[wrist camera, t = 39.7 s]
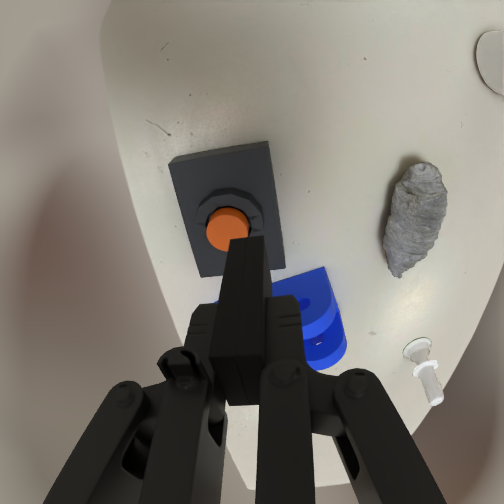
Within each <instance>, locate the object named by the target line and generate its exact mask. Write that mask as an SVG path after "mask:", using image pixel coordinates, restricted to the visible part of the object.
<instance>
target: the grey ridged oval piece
mask: <svg viewBox="0 0 504 504" xmlns="http://www.w3.org/2000/svg"><path fill="white" fill-rule="evenodd" d="M446 207H447V190H446V188H445V187H444V184H443V183H442V175H441V174H440V172H439V170H438V168H437V167H435V166H434V165H432V164H431V163H429V162H423V163H420V164H415V165H413V166H410V167H409V169H408V170H407V171H406V172H405V174H404V176H403V177H402V179H401V180H400V181H399V182H398V183H396V185H395V191H394V194H393V196H392V204H391V215H390V216H389V217H388V220H387V226H386V229H385V233H386V234H384V236H383V239H384V241H383V248H384V249H385V251H386V258H387V263H388V269H389V270H390V271H391V272H392V275H393V276H394V277H398V278H401V277H402V273H403V272H404V271H407V270H408V269H409V268H412V267H414V265H415V264H416V262H418V261H420V260H421V259H424V258H425V257H426V256H427V252H428V251H429V249H431V248H432V247H433V246H434V241H435V240H436V239H437V238H438V233H439V230H440V226H441V224H442V222H443V218H444V216H445V215H446Z"/></svg>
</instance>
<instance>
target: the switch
mask: <svg viewBox="0 0 504 504" xmlns="http://www.w3.org/2000/svg"><path fill="white" fill-rule="evenodd" d="M248 230H249V223H248V220H247V218H246V216H245V215H244V214H243V213H242V212H241V211H239V210H237V209H235V208H229V207H227V208H221V209H219V210H217V211H215V212H214V213H213V214H212V216H211V218H210V220H209V223H208V226H207V230H206V234H207V238H208V240H209V242H210V243H211V244H212V245H213V246H214V247H215V248H217V249H219V250H222V251H228V248H229V243H230V239H236V238H244V237H248Z"/></svg>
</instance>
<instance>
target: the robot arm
mask: <svg viewBox="0 0 504 504" xmlns="http://www.w3.org/2000/svg"><path fill="white" fill-rule="evenodd" d="M189 325H190V326H189V327H188V331H187V335H186V339H185V343H184V347H183V346H182V347H176V348H173V349H171V350H169V351H167V352H165V353H164V354H163V355H162V356H161V357H160V359H159V360H158V362H157V365H158V367H159V368H160V370H161V372H162V373H163V375H164V377H165V378H166V381H164V382H161V383H159V384H155V385H151V386H148V387H144V388H141V386H140V385H139V384H138V383H136V382H134V381H124V382H120V383H118V384H117V385H115V386H114V387H113V388H112V389H111V390H110V391H109V393H108V394H107V396H106V397H105V399H104V401H103V402H102V404H101V405H100V407H99V409H98V410H97V412H96V413H95V415H94V417H93V418H92V420H91V421H90V423H89V425H88V426H87V428H86V430H85V432H84V433H83V435H82V436H81V438H80V440H79V441H78V443H77V445H76V446H75V448H74V450H73V451H72V453H71V455H70V456H69V459H68V460H67V462H66V463H65V465H64V467H63V468H62V470H61V472H60V474H59V476H58V477H57V479H56V481H55V483H54V484H53V486H52V488H51V489H50V491H49V493H48V495H47V497H46V499H45V500H44V502H43V504H220V499H221V488H222V477H223V467H224V455H225V445H226V435H227V424H228V418H227V414H226V412H225V403H226V400H227V402H228V404H229V406H242V405H259V424H258V450H257V474H256V498H255V504H315V482H314V463H313V446H312V433H316V434H321V435H327V436H332V438H333V440H334V443H335V445H336V448H337V450H338V453H339V455H340V458H341V460H342V463H343V465H344V467H345V470H346V472H347V475H348V477H349V480H350V482H351V485H352V487H353V490H354V492H355V494H356V497H357V499H358V502H359V504H447V503H446V501H445V499H444V497H443V495H442V493H441V491H440V489H439V488H438V486H437V484H436V482H435V480H434V478H433V476H432V474H431V472H430V470H429V468H428V466H427V465H426V463H425V461H424V459H423V457H422V455H421V453H420V451H419V450H418V448H417V446H416V444H415V442H414V440H413V439H412V437H411V435H410V433H409V431H408V430H407V428H406V426H405V424H404V422H403V421H402V419H401V417H400V415H399V413H398V412H397V410H396V408H395V406H394V405H393V403H392V401H391V399H390V398H389V396H388V394H387V392H386V391H385V389H384V387H383V385H382V384H381V382H380V380H379V379H378V378H377V376H376V375H375V374H374V373H372V372H370V371H368V370H366V369H359V368H355V369H350V370H347V371H345V372H343V373H341V374H340V375H339V376H333V375H326V374H322V373H319V372H317V371H315V370H314V369H312V368H311V367H310V366H309V364H308V363H307V361H306V358H305V350H304V340H303V331H302V321H301V312H300V303H299V302H298V301H297V299H296V298H295V297H294V295H293V294H292V295H283V296H274V297H272V281H271V274H270V268H269V262H268V256H267V250H266V244H265V238H264V235H260V236H252V237H244V238H236V239H230V243H229V248H228V253H227V258H226V263H225V268H224V273H223V279H222V284H221V289H220V295H219V300H218V303H210V304H199V306H198V307H197V308H196V310H195V311H194V312H193V313H192V316H191V320H190V324H189Z"/></svg>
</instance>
